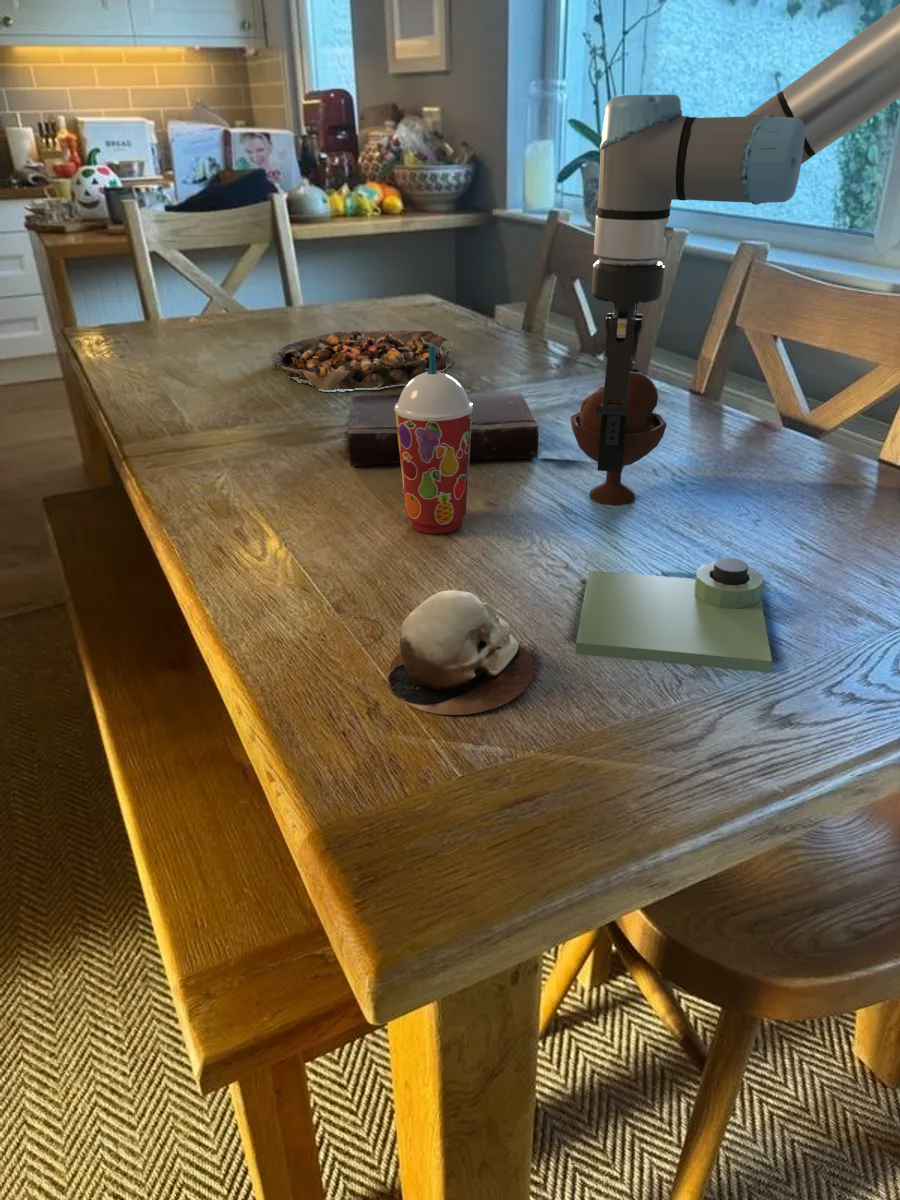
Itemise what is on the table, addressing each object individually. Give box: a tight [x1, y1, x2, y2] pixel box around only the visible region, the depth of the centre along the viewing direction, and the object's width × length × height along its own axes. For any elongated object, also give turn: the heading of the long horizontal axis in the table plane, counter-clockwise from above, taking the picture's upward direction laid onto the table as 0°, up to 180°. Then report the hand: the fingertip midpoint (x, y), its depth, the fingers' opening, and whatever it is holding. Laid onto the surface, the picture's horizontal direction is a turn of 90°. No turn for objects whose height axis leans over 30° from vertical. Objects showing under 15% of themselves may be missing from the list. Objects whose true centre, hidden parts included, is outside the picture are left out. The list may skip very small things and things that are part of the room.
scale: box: [574, 562, 773, 674], centre depth 81 cm, size 16×14×3 cm
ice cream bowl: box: [569, 371, 668, 506], centre depth 105 cm, size 11×11×15 cm
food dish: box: [270, 329, 454, 390], centre depth 165 cm, size 35×33×8 cm
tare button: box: [713, 557, 749, 585], centre depth 83 cm, size 3×3×2 cm
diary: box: [347, 392, 539, 467], centre depth 126 cm, size 19×25×5 cm
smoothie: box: [394, 345, 473, 535], centre depth 98 cm, size 8×8×20 cm
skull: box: [387, 589, 535, 716], centre depth 74 cm, size 12×10×10 cm
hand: (613, 450), depth 106 cm, fingers open, 13 cm apart
